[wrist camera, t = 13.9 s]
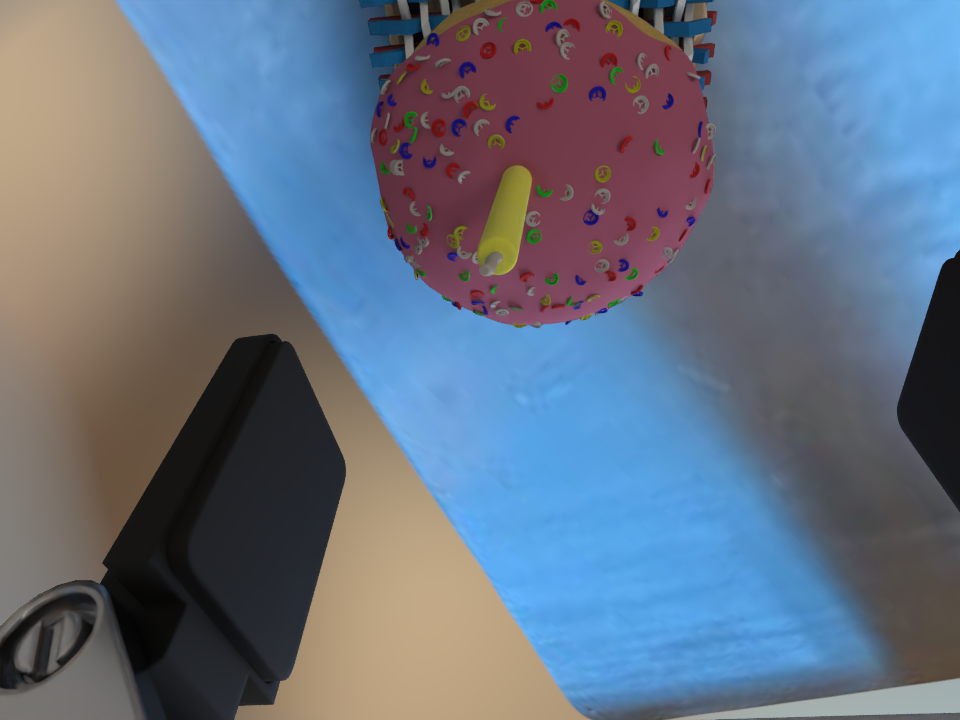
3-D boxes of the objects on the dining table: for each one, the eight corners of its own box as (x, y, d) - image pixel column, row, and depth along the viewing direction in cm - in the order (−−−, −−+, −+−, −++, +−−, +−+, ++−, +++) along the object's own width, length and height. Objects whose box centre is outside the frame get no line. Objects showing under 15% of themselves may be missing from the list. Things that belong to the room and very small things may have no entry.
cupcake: (339, 104, 19) (186, 330, 10) (563, -122, 16) (665, -113, 6) (512, 286, 23) (523, 573, 14) (722, 139, 20) (932, 388, 10)
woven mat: (687, 226, 24) (700, 251, 22) (413, 246, 24) (407, 273, 23) (729, -118, 17) (752, -117, 16) (355, -74, 18) (341, -69, 16)
